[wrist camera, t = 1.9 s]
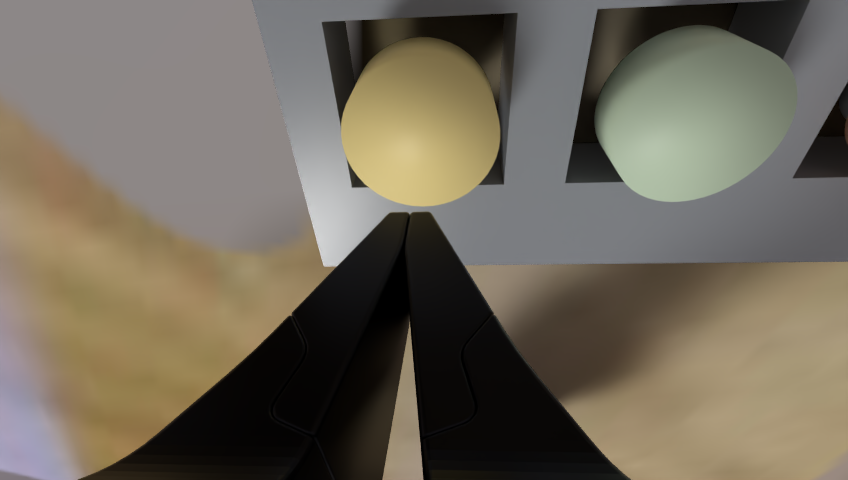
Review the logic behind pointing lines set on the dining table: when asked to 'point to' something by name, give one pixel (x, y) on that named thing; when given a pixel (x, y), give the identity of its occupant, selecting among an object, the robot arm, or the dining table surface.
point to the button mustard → (421, 123)
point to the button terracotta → (844, 108)
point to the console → (553, 136)
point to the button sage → (693, 112)
